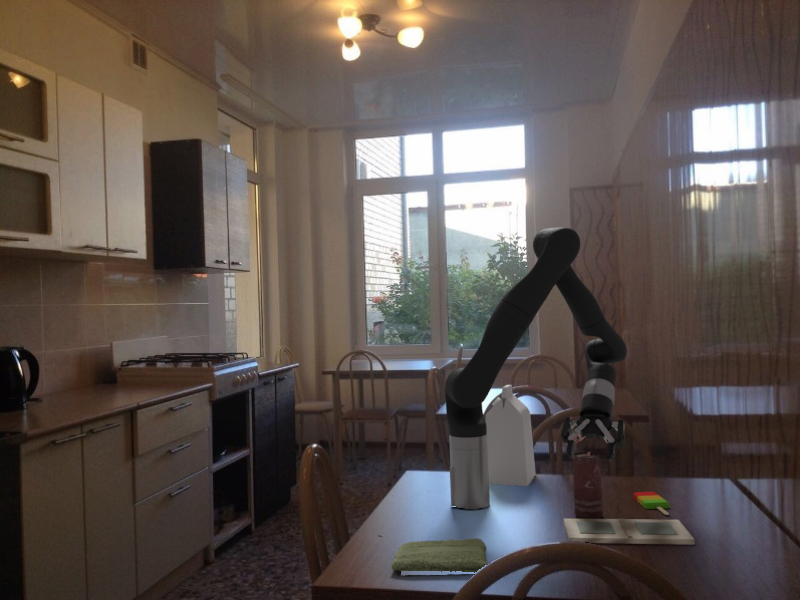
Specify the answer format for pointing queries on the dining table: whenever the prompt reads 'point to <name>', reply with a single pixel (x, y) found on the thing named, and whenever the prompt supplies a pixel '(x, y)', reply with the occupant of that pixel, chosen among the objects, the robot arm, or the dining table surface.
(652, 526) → the white flat rectangular tray
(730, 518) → the dining table surface
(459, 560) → the washcloth
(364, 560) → the dining table surface
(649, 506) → the popsicle
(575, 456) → the can
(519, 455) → the milk
